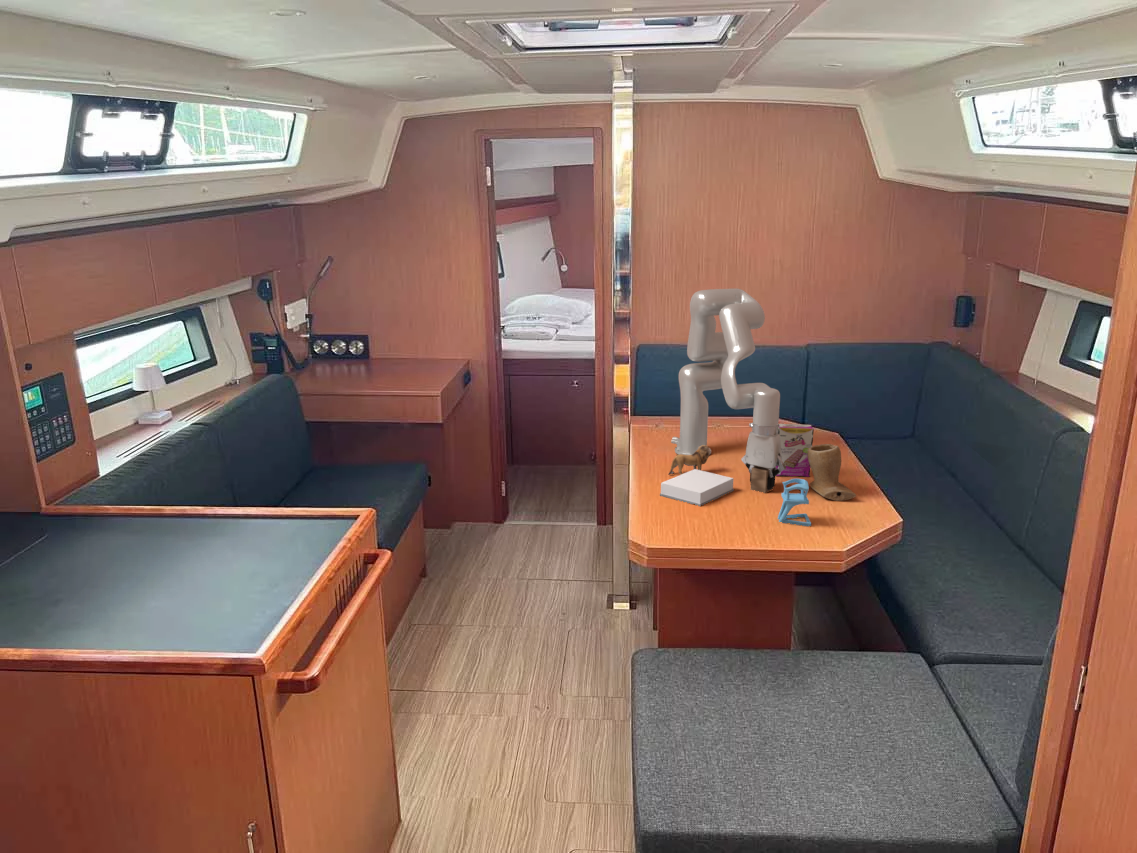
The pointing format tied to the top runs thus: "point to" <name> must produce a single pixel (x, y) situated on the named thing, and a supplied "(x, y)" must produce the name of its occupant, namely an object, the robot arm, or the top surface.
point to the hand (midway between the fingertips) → (762, 486)
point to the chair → (794, 502)
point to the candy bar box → (795, 449)
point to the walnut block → (759, 479)
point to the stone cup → (827, 472)
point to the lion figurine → (691, 459)
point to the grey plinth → (697, 487)
